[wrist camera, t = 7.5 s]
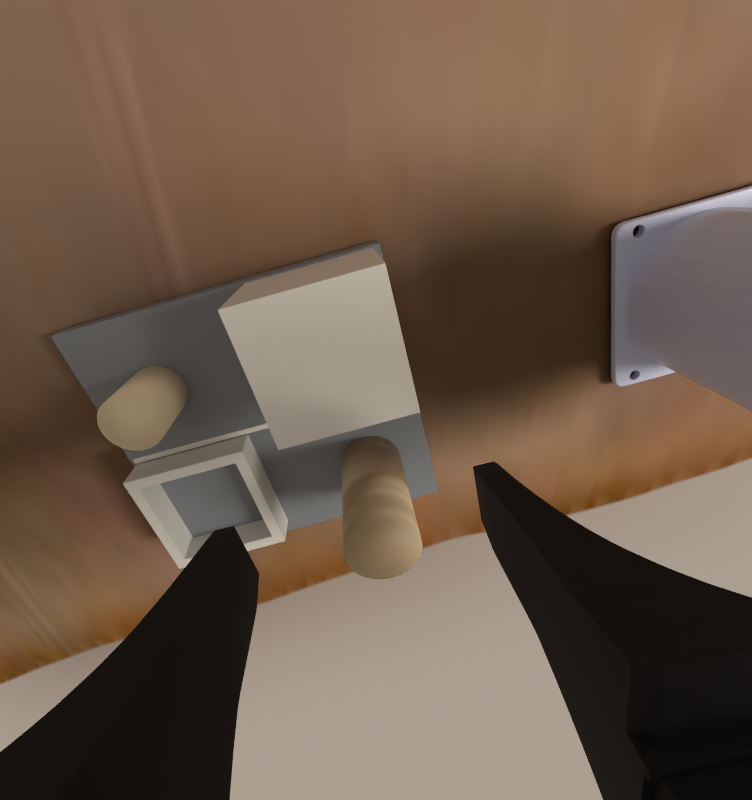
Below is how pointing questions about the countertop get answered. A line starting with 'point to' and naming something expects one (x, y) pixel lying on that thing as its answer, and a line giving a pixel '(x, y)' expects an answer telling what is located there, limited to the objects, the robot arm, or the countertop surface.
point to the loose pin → (377, 510)
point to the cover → (322, 348)
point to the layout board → (213, 425)
